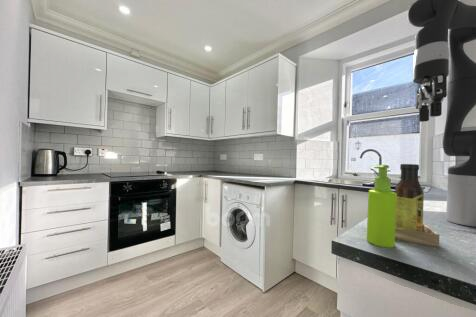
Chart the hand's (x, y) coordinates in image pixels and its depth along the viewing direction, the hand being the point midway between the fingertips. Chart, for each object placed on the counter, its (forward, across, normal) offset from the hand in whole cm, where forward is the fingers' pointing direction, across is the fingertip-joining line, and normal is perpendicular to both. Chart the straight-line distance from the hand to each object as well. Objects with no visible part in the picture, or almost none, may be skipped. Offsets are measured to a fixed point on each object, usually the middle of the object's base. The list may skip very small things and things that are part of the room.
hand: (429, 119), depth 59 cm
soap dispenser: (+34, -16, +14) cm, 40 cm away
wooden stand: (+34, -6, +6) cm, 35 cm away
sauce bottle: (+33, -6, +6) cm, 34 cm away
